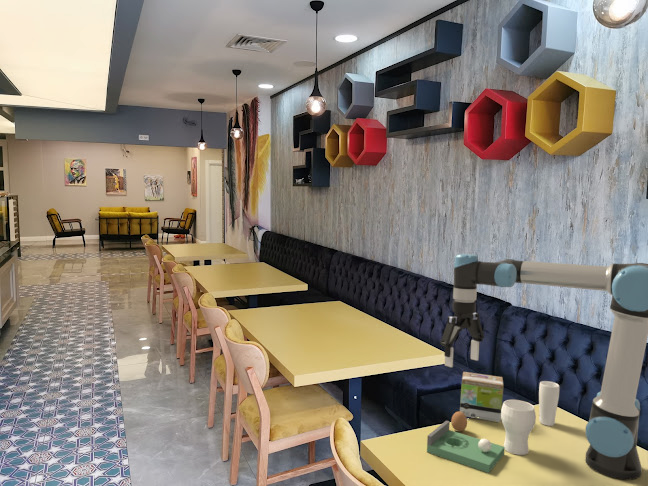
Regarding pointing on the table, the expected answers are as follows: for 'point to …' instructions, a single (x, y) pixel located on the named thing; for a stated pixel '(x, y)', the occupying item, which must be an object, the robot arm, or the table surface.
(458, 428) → the egg
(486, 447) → the ball
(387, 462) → the table surface
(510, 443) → the cup
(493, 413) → the tea box
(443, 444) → the green
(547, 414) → the drinking glass
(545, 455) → the table surface
